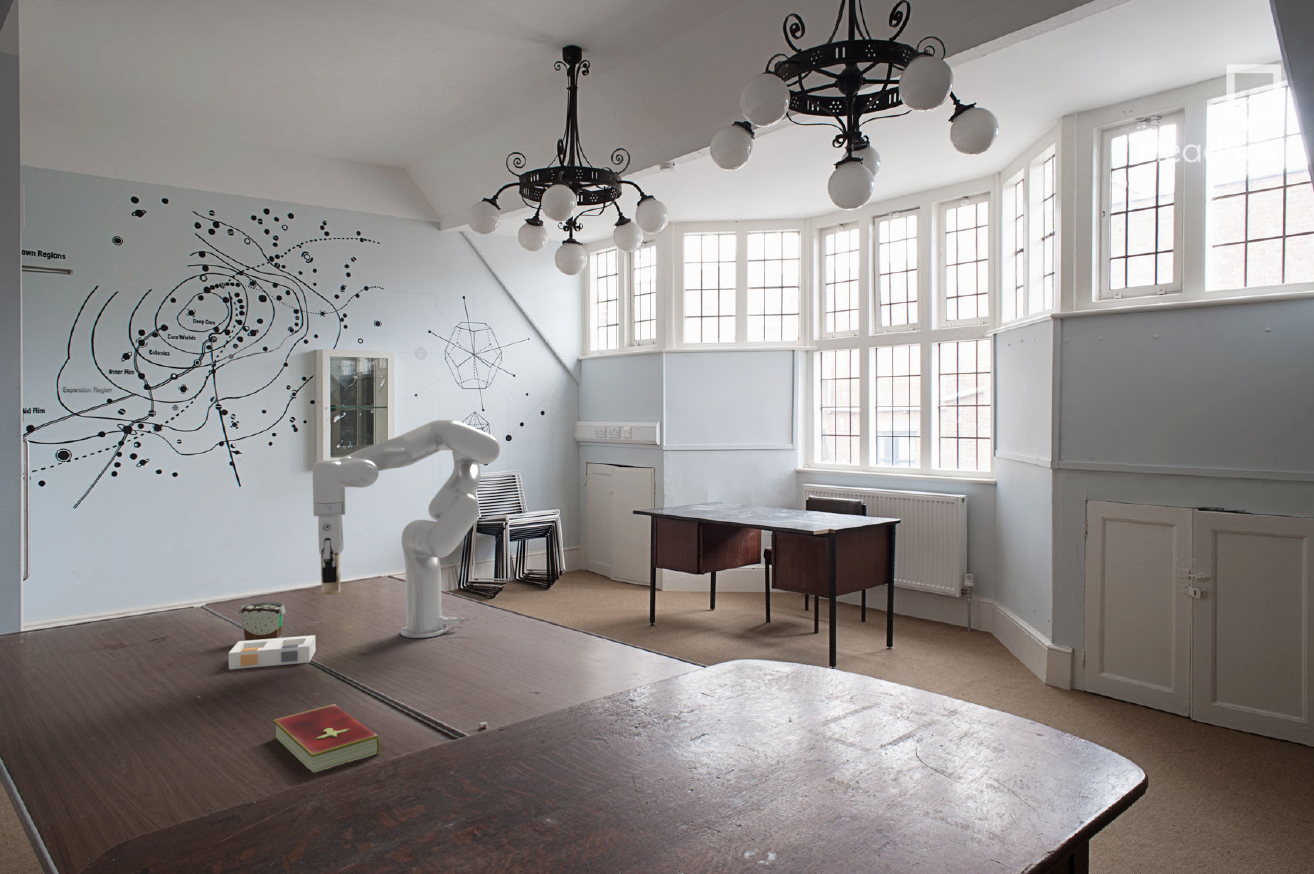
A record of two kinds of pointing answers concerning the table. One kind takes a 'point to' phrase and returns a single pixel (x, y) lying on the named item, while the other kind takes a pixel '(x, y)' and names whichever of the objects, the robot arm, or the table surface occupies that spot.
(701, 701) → the table surface
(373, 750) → the hardcover book
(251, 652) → the socket block
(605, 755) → the table surface
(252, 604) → the food container
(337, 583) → the plug
